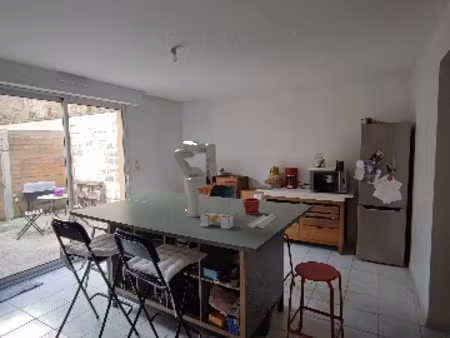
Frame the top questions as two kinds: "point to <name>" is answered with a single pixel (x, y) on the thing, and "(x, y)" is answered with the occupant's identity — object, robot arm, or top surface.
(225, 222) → the cup brackets
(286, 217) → the top surface
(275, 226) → the top surface
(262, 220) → the crown molding
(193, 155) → the robot arm
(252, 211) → the plant pot
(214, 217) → the beige wooden bar
